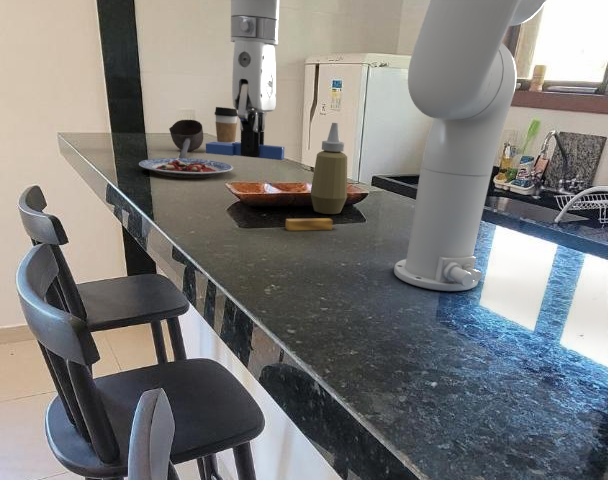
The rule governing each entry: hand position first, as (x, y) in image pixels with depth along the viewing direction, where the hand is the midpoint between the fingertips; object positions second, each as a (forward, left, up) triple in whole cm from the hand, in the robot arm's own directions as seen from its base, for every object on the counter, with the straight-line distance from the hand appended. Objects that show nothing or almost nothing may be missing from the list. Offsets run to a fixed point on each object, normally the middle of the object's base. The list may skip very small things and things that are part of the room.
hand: (252, 155), depth 93 cm
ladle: (+98, -3, -13) cm, 99 cm away
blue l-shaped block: (+1, +1, 0) cm, 1 cm away
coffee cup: (+112, -20, -13) cm, 114 cm away
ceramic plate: (+63, +2, -13) cm, 64 cm away
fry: (0, -11, -13) cm, 17 cm away
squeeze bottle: (+14, -21, -13) cm, 28 cm away
